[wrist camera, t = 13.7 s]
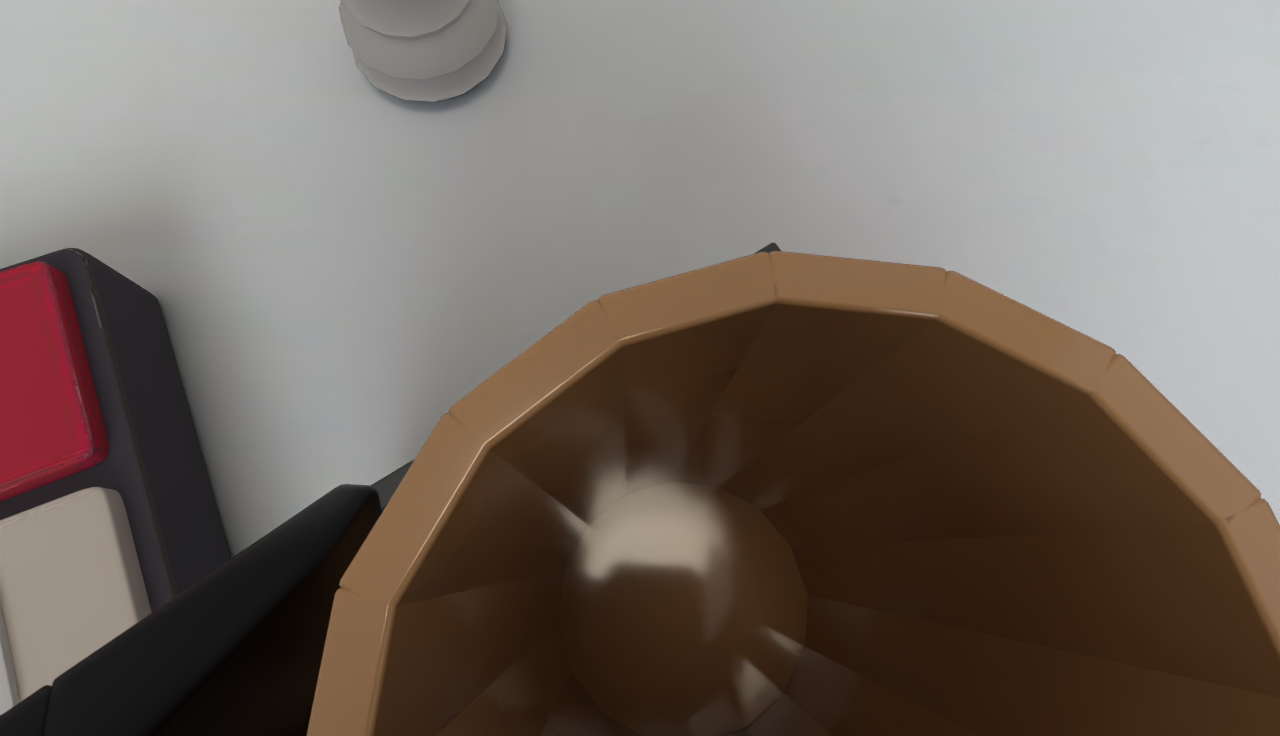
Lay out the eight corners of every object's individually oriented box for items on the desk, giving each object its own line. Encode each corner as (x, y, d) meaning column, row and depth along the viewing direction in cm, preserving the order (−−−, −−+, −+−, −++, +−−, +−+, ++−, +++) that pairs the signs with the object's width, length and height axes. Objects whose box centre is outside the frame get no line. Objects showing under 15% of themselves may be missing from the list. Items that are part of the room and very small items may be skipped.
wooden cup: (875, 626, 17) (1614, 838, 4) (664, 823, 16) (814, 1899, 3) (698, 416, 18) (863, 93, 5) (490, 585, 17) (92, 673, 4)
